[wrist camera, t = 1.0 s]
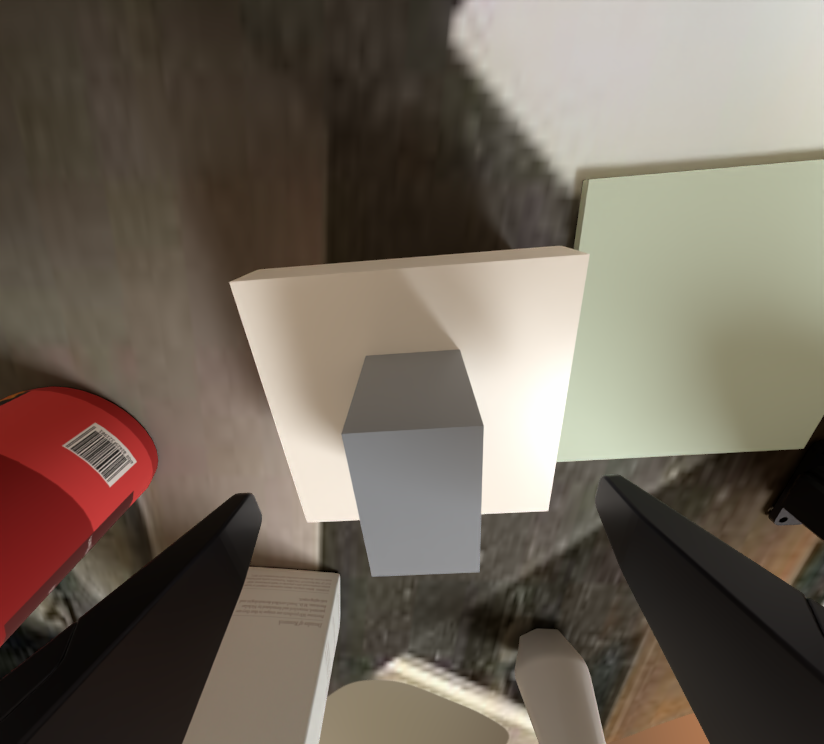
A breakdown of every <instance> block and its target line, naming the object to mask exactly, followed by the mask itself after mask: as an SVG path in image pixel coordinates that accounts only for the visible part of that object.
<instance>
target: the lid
mask: <svg viewBox="0 0 824 744" xmlns="http://www.w3.org/2000/svg"><path fill="white" fill-rule="evenodd" d="M589 256H590V254H588V253H585V252H581V251H578V250H574V249H571V248H568V247H564V246H549V247H537V248H524V249H511V250H499V251H486V252H473V253H460V254H448V255H435V256H422V257H410V258H397V259H384V260H371V261H359V262H346V263H333V264H321V265H308V266H295V267H282V268H270V269H258V270H256V271H253V272H251V273H249V274H246V275H244V276H242V277H239V278H237V279H235V280H233V281H230V282H229V283H230V286H231V289H232V293H233V296H234V299H235V302H236V305H237V308H238V311H239V314H240V317H241V320H242V323H243V326H244V329H245V333H246V336H247V339H248V342H249V345H250V348H251V351H252V354H253V357H254V360H255V363H256V366H257V370H258V373H259V376H260V379H261V382H262V385H263V388H264V391H265V394H266V397H267V400H268V403H269V406H270V410H271V413H272V416H273V419H274V422H275V425H276V428H277V431H278V434H279V437H280V440H281V443H282V446H283V450H284V453H285V456H286V459H287V462H288V465H289V468H290V471H291V474H292V477H293V480H294V483H295V487H296V490H297V493H298V496H299V499H300V502H301V505H302V508H303V511H304V514H305V517H306V520H307V522H328V521H349V520H360V523H361V528H362V532H363V537H364V541H365V546H366V551H367V555H368V560H369V565H370V569H371V574H372V577H374V576H399V575H423V574H447V573H471V572H480V538H481V514H494V513H515V512H536V511H548V509H549V503H550V496H551V490H552V484H553V478H554V472H555V466H556V459H557V453H558V447H559V441H560V435H561V429H562V423H563V416H564V410H565V404H566V398H567V392H568V386H569V379H570V373H571V367H572V361H573V355H574V349H575V342H576V336H577V330H578V324H579V318H580V312H581V306H582V299H583V293H584V287H585V281H586V275H587V269H588V262H589Z"/></svg>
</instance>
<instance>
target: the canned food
mask: <svg viewBox="0 0 824 744" xmlns="http://www.w3.org/2000/svg"><path fill="white" fill-rule="evenodd" d="M157 465H158V456H157V450H156V448H155V445H154V443H153V441H152V439H151V438H150V436H149V435H148V433H147V432H146V430H145V429H144V428H143V427H142V426H141V425H140V424H139V423H138V422H137V421H136V420H135V419H134V418H133V417H132V416H130V415H129V414H128V413H127V412H126V411H124V410H122V409H121V408H119V407H118V406H116V405H115V404H113V403H111V402H109V401H107V400H105V399H103V398H101V397H99V396H96V395H94V394H91V393H88V392H85V391H82V390H77V389H73V388H68V387H54V386H53V387H43V388H37V389H32V390H27V391H23V392H19V393H16V394H13V395H10V396H8V397H6V398H4V399H2V400H0V647H1V645H2V644H3V643H4V642H5V641H6V640H7V639H8V638H9V637H10V636H11V635H12V634H13V633H14V631H15V630H16V629H17V628H18V627H19V626H20V625H21V624H22V623H23V622H24V621H25V620H26V618H27V617H28V616H29V615H30V614H31V613H32V612H33V611H34V610H35V609H36V608H37V607H38V605H39V604H40V603H41V602H42V601H43V600H44V599H45V598H46V597H47V596H48V595H49V594H50V592H51V591H52V590H53V589H54V588H55V587H56V586H57V585H58V584H59V583H60V582H61V581H62V580H63V578H64V577H65V576H66V575H67V574H68V573H69V572H70V571H71V570H72V569H73V568H74V567H75V565H76V564H77V563H78V562H79V561H80V560H81V559H82V558H83V557H84V556H85V555H86V554H87V552H88V551H89V550H90V549H91V548H92V547H93V546H94V545H95V544H96V543H97V542H98V541H99V539H100V538H101V537H102V536H103V535H104V534H105V533H106V532H107V531H108V530H109V529H110V528H111V527H112V525H113V524H114V523H115V522H116V521H117V520H118V519H119V518H120V517H121V516H122V515H123V514H124V512H125V511H126V510H127V509H128V508H129V507H130V506H131V505H132V504H133V503H134V502H135V501H136V499H137V498H138V497H139V496H140V495H141V494H142V493H143V492H144V491H145V490H146V489H147V488H148V486H149V484H150V482H151V480H152V478H153V476H154V474H155V471H156V469H157Z"/></svg>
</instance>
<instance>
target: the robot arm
mask: <svg viewBox="0 0 824 744" xmlns="http://www.w3.org/2000/svg"><path fill="white" fill-rule="evenodd" d="M595 504H596V508H597V511H598V513H599V516H600V518H601V521H602V523H603V526H604V528H605V531H606V533H607V536H608V538H609V541H610V544H611V546H612V549H613V551H614V554H615V556H616V559H617V561H618V564H619V566H620V568H621V570H622V572H623V575H624V577H625V579H626V581H627V583H628V585H629V587H630V588H631V590H632V592H633V594H634V596H635V598H636V600H637V602H638V604H639V606H640V608H641V610H642V612H643V614H644V616H645V618H646V620H647V622H648V624H649V626H650V628H651V630H652V631H653V633H654V635H655V637H656V639H657V641H658V643H659V645H660V647H661V649H662V651H663V653H664V655H665V657H666V659H667V661H668V663H669V665H670V667H671V669H672V671H673V672H674V674H675V676H676V678H677V680H678V682H679V684H680V686H681V688H682V690H683V692H684V694H685V696H686V698H687V700H688V702H689V704H690V706H691V708H692V710H693V712H694V713H695V715H696V717H697V719H698V721H699V723H700V725H701V727H702V729H703V731H704V733H705V735H706V737H707V739H708V741H709V743H710V744H824V607H823V606H822V605H820V604H819V603H817V602H815V601H814V600H812V599H811V598H806V597H805V595H804V594H803V593H801V592H800V591H798V590H797V589H795V588H794V587H792V586H791V585H789V584H787V583H786V582H784V581H783V580H781V579H780V578H778V577H777V576H775V575H774V574H772V573H771V572H769V571H767V570H766V569H764V568H763V567H761V566H760V565H758V564H757V563H755V562H754V561H752V560H751V559H749V558H747V557H746V556H744V555H743V554H741V553H740V552H738V551H737V550H735V549H734V548H732V547H730V546H729V545H727V544H726V543H724V542H723V541H721V540H720V539H718V538H717V537H715V536H714V535H712V534H710V533H709V532H707V531H706V530H704V529H703V528H701V527H700V526H698V525H697V524H695V523H694V522H692V521H690V520H689V519H687V518H686V517H684V516H683V515H681V514H680V513H678V512H677V511H675V510H673V509H672V508H670V507H669V506H667V505H666V504H664V503H663V502H661V501H660V500H658V499H657V498H655V497H653V496H652V495H650V494H649V493H647V492H646V491H644V490H643V489H641V488H640V487H638V486H637V485H635V484H633V483H632V482H630V481H629V480H627V479H626V478H624V477H623V476H621V475H617V474H614V475H603V476H601V477H600V480H599V484H598V488H597V492H596V496H595ZM769 519H770V520H771V521H772V522H774V523H775V524H776V525H798V524H803V525H804V526H805V527H807V528H808V529H809V530H810V531H811V532H813V533H814V534H815V535H816V536H817V537H819V538H820V539H821V540H822V541H823V542H824V440H823V441H819V442H816V443H815V444H813V445H812V446H811V447H810V448H809V450H808V452H807V453H806V455H805V457H804V458H803V460H802V462H801V463H800V465H799V467H798V468H797V470H796V471H795V473H794V475H793V476H792V478H791V480H790V481H789V483H788V485H787V486H786V488H785V490H784V491H783V493H782V495H781V496H780V498H779V499H778V501H777V503H776V504H775V506H774V508H773V509H772V511H771V513H770V514H769ZM261 522H262V514H261V511H260V509H259V506H258V504H257V502H256V499H255V497H254V495H253V494H252V493H237V494H235V495H233V496H232V497H231V498H229V499H228V500H227V501H226V502H224V503H223V504H222V505H221V506H219V507H218V508H217V509H216V510H214V511H213V512H212V513H211V514H209V515H208V516H207V517H206V518H204V519H203V520H202V521H201V522H199V523H198V524H197V525H196V526H194V527H193V528H192V529H190V530H189V531H188V532H187V533H185V534H184V535H183V536H182V537H180V538H179V539H178V540H177V541H175V542H174V543H173V544H172V545H170V546H169V547H168V548H167V549H165V550H164V551H163V552H162V553H160V554H159V555H158V556H157V557H155V558H154V559H153V560H152V561H150V562H149V563H148V564H147V565H145V566H144V567H143V568H142V569H140V570H139V571H138V572H137V573H135V574H134V575H133V576H132V577H130V578H129V579H128V580H127V581H125V582H124V583H123V584H122V585H120V586H119V587H118V588H117V589H115V590H114V591H113V592H112V593H110V594H109V595H108V596H107V597H105V598H104V599H103V600H102V601H100V602H99V603H98V604H97V605H95V606H94V607H93V608H92V609H90V610H89V611H88V612H87V613H85V614H84V615H83V616H82V617H80V618H79V620H78V622H74V623H73V624H71V625H70V626H69V627H68V628H66V629H65V630H64V631H63V632H61V633H60V634H59V635H58V636H56V637H55V638H54V639H53V640H51V641H50V642H49V643H48V644H46V645H45V646H44V647H42V648H41V649H40V650H39V651H37V652H36V653H35V654H33V655H32V656H31V657H30V658H28V659H27V660H26V661H25V662H23V663H22V664H21V665H19V666H18V667H17V668H16V669H14V670H13V671H12V672H10V673H9V674H8V675H6V676H5V677H3V678H2V679H1V680H0V744H182V743H183V741H184V738H185V736H186V733H187V730H188V728H189V725H190V723H191V720H192V718H193V715H194V712H195V710H196V707H197V705H198V702H199V699H200V697H201V694H202V692H203V689H204V686H205V684H206V681H207V679H208V676H209V674H210V671H211V668H212V666H213V663H214V661H215V658H216V655H217V653H218V650H219V648H220V645H221V643H222V640H223V637H224V635H225V632H226V630H227V627H228V624H229V622H230V619H231V617H232V614H233V611H234V609H235V606H236V604H237V601H238V599H239V596H240V593H241V591H242V588H243V585H244V582H245V579H246V576H247V572H248V569H249V565H250V562H251V558H252V555H253V551H254V547H255V544H256V540H257V537H258V533H259V530H260V526H261Z"/></svg>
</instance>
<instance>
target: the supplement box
mask: <svg viewBox="0 0 824 744" xmlns="http://www.w3.org/2000/svg"><path fill="white" fill-rule="evenodd" d="M339 627H340V574H338V573H331V572H318V571H306V570H292V569H279V568H263V567H249V569H248V572H247V576H246V579H245V582H244V585H243V588H242V591H241V593H240V596H239V599H238V601H237V604H236V606H235V609H234V611H233V614H232V617H231V619H230V622H229V624H228V627H227V630H226V632H225V635H224V637H223V640H222V643H221V645H220V648H219V650H218V653H217V655H216V658H215V661H214V663H213V666H212V668H211V671H210V674H209V676H208V679H207V681H206V684H205V686H204V689H203V692H202V694H201V697H200V699H199V702H198V705H197V707H196V710H195V712H194V715H193V718H192V720H191V723H190V725H189V728H188V730H187V733H186V736H185V738H184V741H183V743H182V744H319V739H320V733H321V728H322V722H323V716H324V710H325V705H326V699H327V693H328V688H329V682H330V676H331V670H332V665H333V659H334V654H335V649H336V643H337V638H338V632H339Z"/></svg>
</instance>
